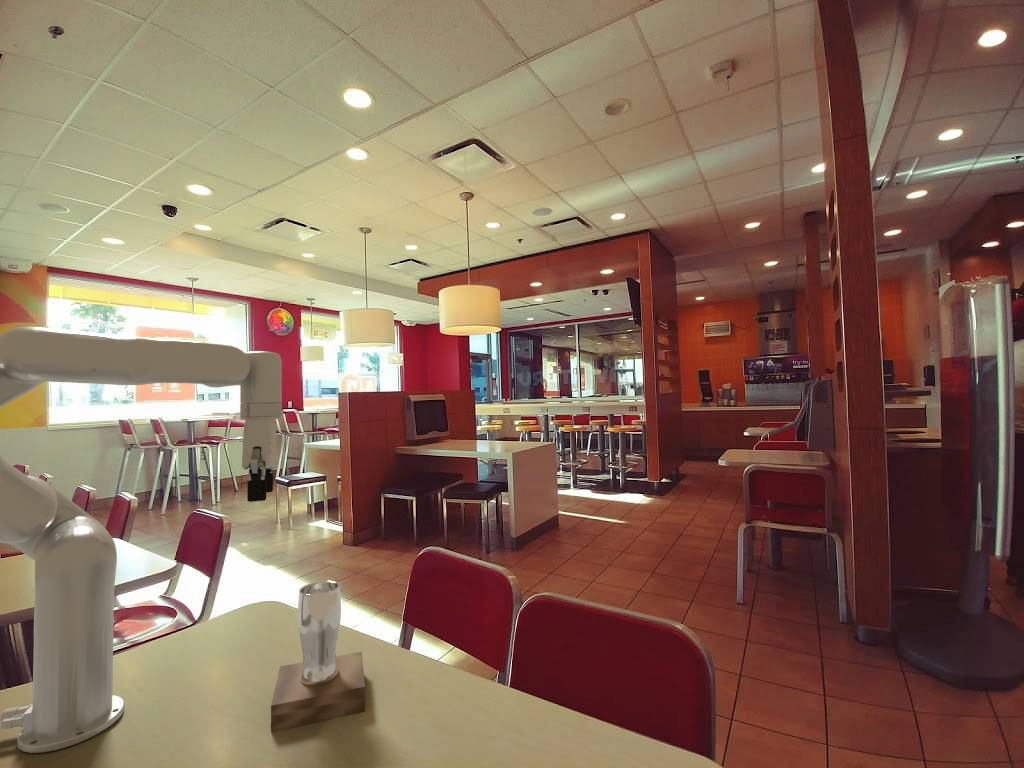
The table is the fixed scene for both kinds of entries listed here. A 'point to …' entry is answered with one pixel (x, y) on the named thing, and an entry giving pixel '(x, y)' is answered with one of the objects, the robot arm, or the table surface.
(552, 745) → the table surface
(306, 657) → the beer glass
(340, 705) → the walnut shelf
